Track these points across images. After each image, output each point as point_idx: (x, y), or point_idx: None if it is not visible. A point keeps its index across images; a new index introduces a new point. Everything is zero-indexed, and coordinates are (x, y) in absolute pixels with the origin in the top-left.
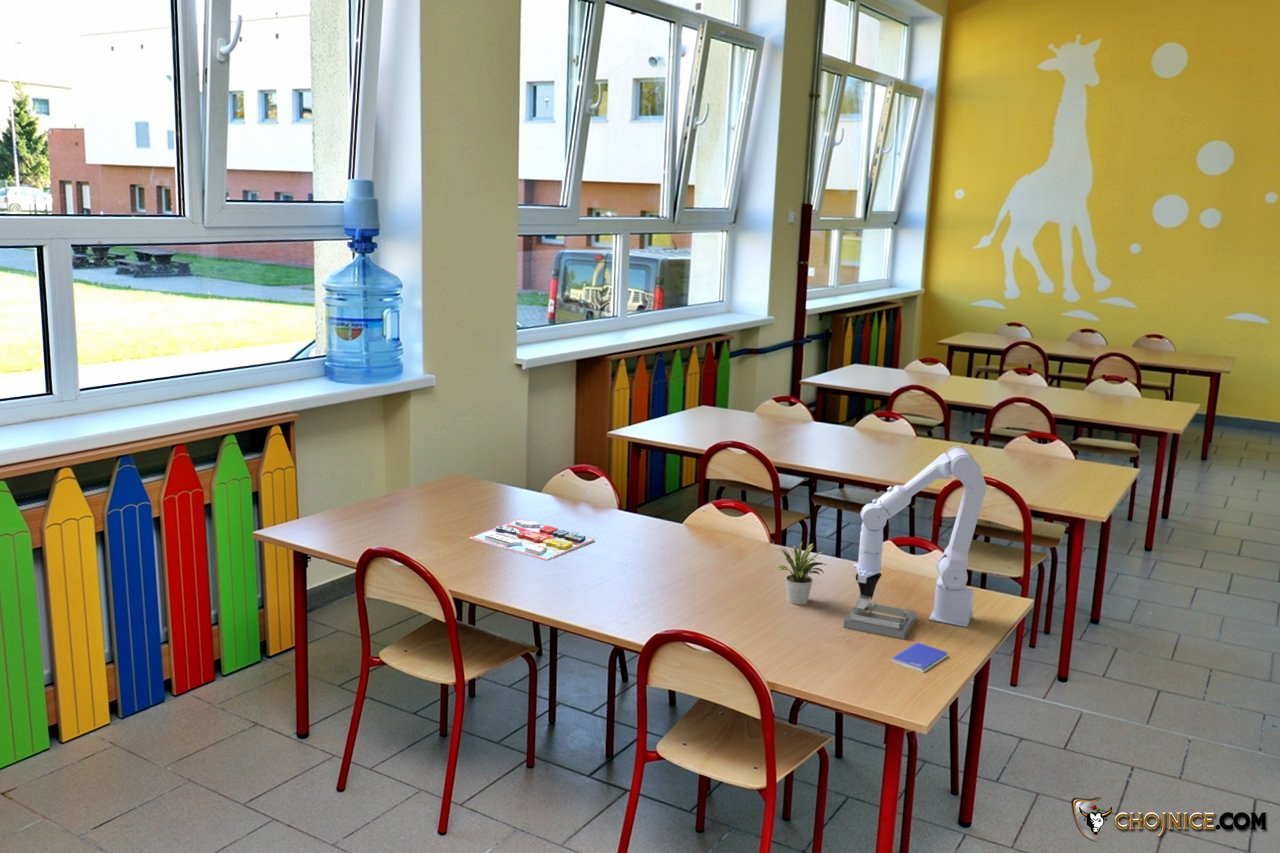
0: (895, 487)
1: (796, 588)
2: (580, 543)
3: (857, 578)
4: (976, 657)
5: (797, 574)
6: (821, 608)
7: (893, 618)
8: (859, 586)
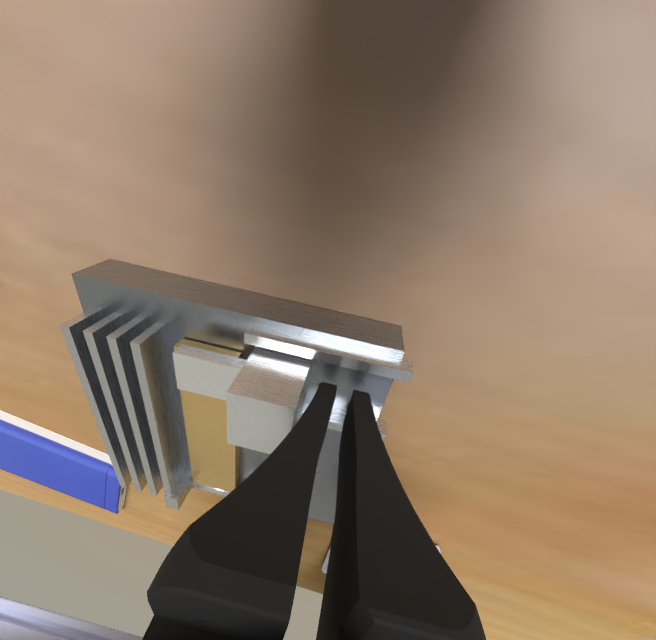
0: None
1: None
2: None
3: (166, 558)
4: (158, 540)
5: None
6: (331, 75)
7: (151, 477)
8: (262, 464)
